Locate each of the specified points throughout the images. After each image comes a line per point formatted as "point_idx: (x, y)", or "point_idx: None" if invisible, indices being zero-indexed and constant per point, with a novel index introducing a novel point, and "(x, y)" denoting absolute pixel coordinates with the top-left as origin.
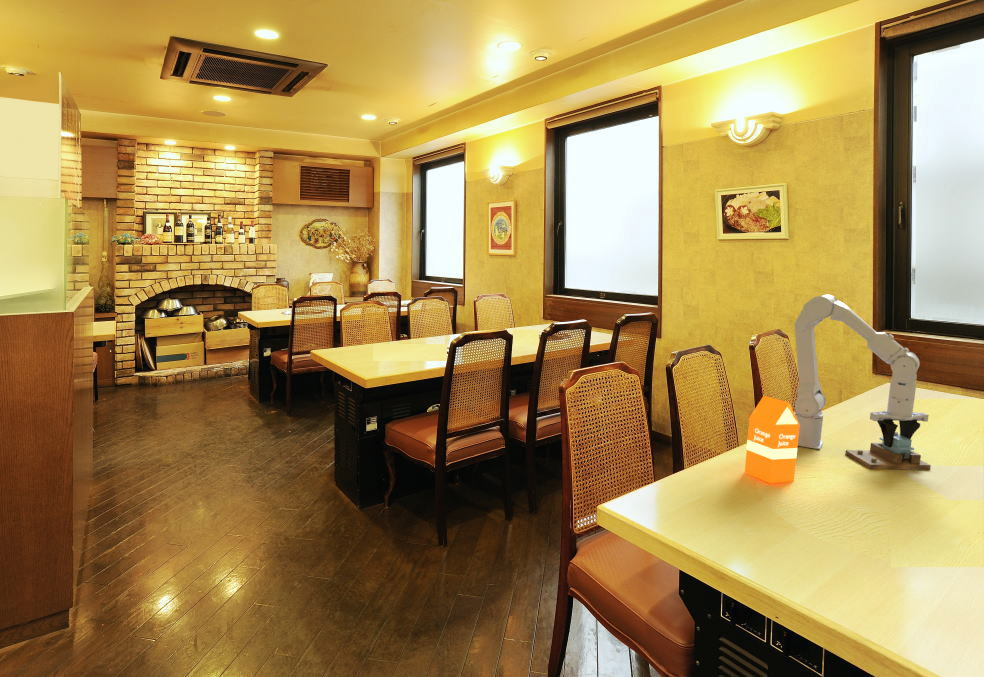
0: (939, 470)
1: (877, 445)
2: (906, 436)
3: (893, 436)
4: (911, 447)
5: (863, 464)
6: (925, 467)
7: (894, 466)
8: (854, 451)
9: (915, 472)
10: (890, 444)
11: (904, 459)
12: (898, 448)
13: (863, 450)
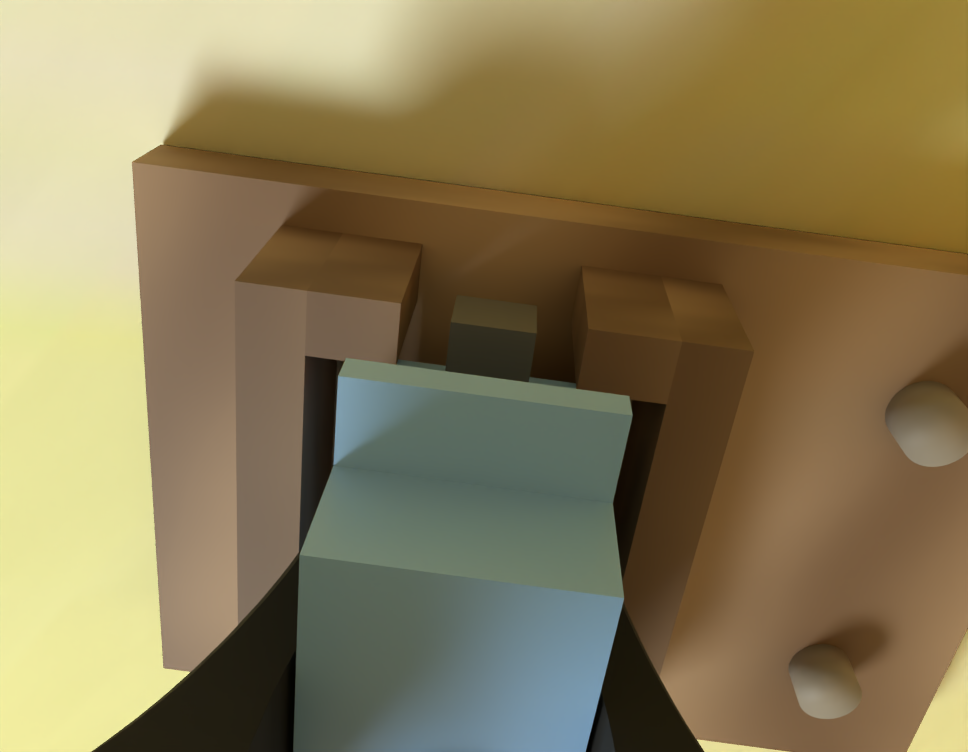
0: (36, 94)
1: None
2: (279, 713)
3: (622, 732)
4: (363, 419)
5: None
6: (226, 162)
7: (724, 234)
8: (825, 723)
9: (488, 58)
10: (620, 617)
11: None
12: (615, 454)
13: None
